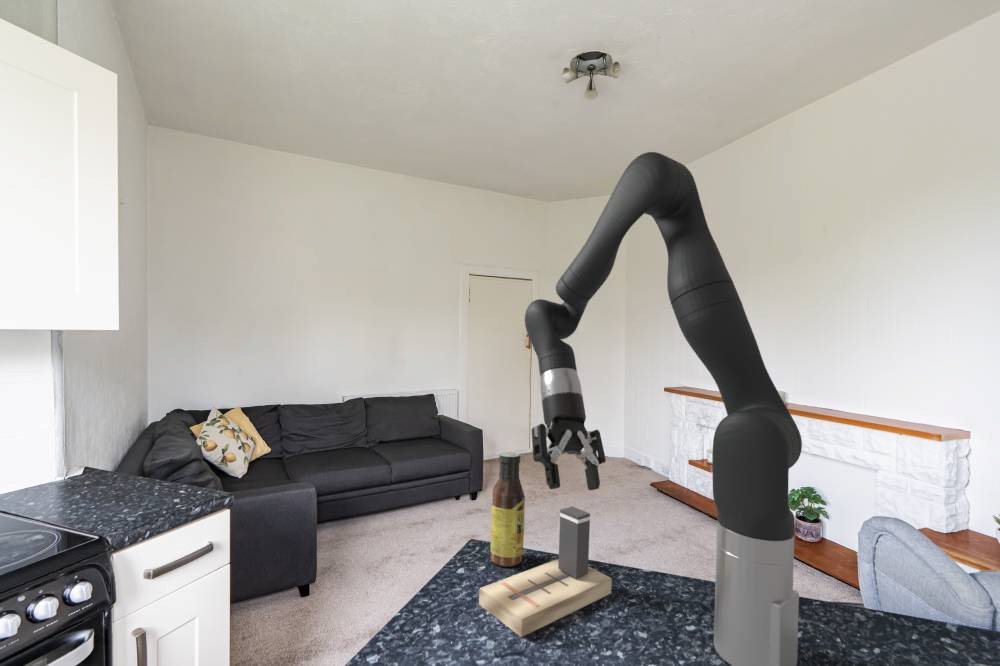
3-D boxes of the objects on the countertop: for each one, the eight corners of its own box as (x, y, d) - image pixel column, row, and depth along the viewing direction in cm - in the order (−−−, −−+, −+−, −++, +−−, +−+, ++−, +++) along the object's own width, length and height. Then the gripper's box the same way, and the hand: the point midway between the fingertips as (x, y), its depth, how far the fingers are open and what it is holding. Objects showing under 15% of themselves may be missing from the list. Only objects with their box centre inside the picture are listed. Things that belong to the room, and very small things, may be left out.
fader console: (611, 593, 78) (611, 577, 78) (521, 637, 65) (521, 618, 65) (566, 569, 85) (567, 555, 86) (478, 604, 73) (479, 587, 73)
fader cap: (588, 573, 78) (590, 513, 79) (575, 578, 77) (578, 517, 77) (570, 563, 82) (572, 506, 82) (558, 568, 80) (560, 509, 80)
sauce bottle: (523, 569, 85) (527, 459, 85) (488, 567, 85) (493, 458, 85) (522, 553, 91) (526, 451, 92) (490, 551, 91) (494, 450, 92)
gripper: (542, 385, 80) (555, 484, 72) (604, 395, 87) (621, 486, 79) (518, 399, 85) (527, 492, 78) (578, 407, 92) (591, 493, 85)
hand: (574, 489), depth 79 cm, fingers open, 8 cm apart
